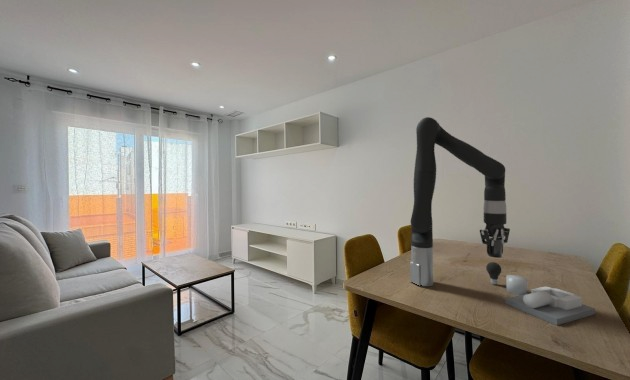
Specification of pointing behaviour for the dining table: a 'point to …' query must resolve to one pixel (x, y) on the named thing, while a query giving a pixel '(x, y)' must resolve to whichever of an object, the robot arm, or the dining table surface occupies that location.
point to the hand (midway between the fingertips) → (495, 254)
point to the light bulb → (493, 271)
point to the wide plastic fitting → (516, 284)
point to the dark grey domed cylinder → (497, 248)
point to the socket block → (551, 305)
